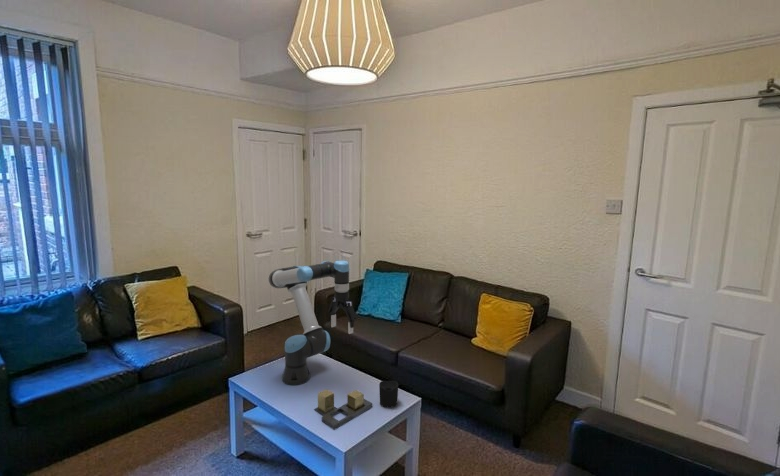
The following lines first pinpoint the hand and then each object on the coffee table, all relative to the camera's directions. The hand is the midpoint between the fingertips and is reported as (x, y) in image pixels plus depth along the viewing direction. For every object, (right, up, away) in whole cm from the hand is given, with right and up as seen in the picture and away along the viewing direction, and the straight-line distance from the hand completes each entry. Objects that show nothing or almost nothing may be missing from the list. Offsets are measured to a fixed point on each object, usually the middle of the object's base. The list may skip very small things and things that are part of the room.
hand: (342, 329), depth 207 cm
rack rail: (+5, -35, -20) cm, 41 cm away
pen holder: (+25, -34, -11) cm, 43 cm away
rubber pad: (-6, -35, -17) cm, 39 cm away
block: (+9, -35, -17) cm, 39 cm away
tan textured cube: (-6, -34, -17) cm, 39 cm away
